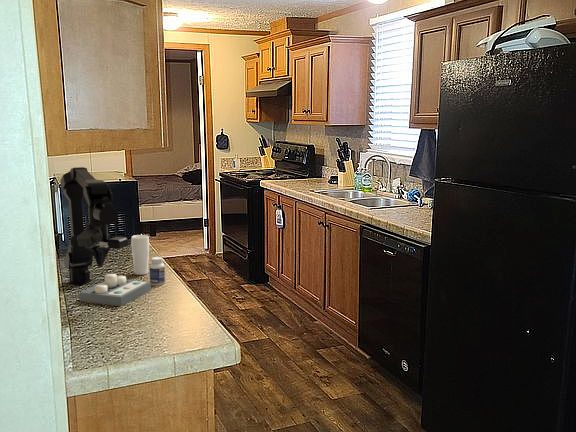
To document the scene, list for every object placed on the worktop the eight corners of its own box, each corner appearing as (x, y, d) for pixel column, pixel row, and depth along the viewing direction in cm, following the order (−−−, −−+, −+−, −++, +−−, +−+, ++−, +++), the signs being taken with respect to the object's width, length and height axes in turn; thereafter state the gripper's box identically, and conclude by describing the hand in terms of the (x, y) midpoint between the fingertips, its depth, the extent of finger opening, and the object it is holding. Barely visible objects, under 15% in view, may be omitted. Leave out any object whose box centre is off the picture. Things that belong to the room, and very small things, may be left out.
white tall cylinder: (128, 274, 212) (127, 237, 209) (139, 270, 218) (138, 234, 215) (143, 276, 209) (141, 238, 207) (153, 272, 215) (152, 235, 213)
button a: (92, 298, 180) (92, 287, 179) (100, 294, 184) (99, 283, 183) (103, 299, 179) (102, 288, 178) (110, 295, 183) (109, 285, 182)
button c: (112, 288, 190) (112, 278, 190) (119, 285, 194) (118, 275, 194) (122, 289, 189) (121, 279, 189) (128, 286, 193) (128, 276, 192)
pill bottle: (161, 286, 197) (160, 260, 196) (147, 285, 198) (146, 259, 197) (167, 282, 203) (166, 256, 201) (153, 281, 204) (153, 256, 202)
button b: (102, 287, 185) (102, 276, 184) (109, 283, 189) (109, 273, 188) (112, 288, 184) (112, 277, 183) (119, 284, 187) (119, 274, 187)
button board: (79, 301, 180) (79, 291, 179) (112, 286, 197) (111, 277, 196) (121, 306, 175) (121, 296, 175) (150, 290, 192) (150, 281, 192)
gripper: (57, 222, 172) (60, 270, 174) (107, 226, 167) (110, 275, 169) (80, 217, 182) (82, 262, 185) (128, 220, 177) (130, 266, 180)
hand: (100, 266), depth 179 cm, fingers closed
